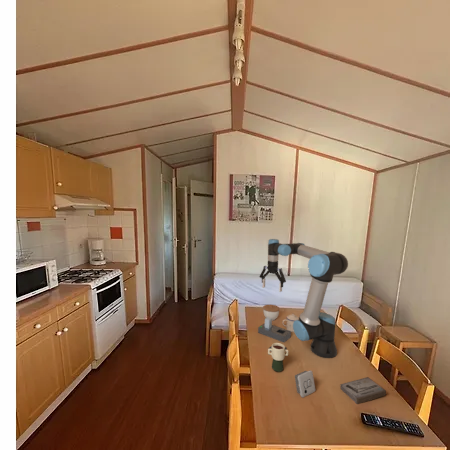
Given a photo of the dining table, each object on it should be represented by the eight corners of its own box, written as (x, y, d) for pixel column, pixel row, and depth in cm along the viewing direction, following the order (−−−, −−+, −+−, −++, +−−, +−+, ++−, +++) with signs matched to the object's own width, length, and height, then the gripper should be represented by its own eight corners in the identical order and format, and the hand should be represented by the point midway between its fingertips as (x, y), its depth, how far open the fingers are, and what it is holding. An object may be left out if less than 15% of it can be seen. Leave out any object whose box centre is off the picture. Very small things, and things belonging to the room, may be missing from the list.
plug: (271, 332, 181) (271, 318, 181) (268, 334, 179) (269, 320, 178) (267, 330, 184) (267, 317, 183) (264, 332, 181) (264, 318, 180)
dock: (286, 349, 159) (286, 347, 159) (280, 355, 153) (280, 352, 153) (274, 345, 164) (274, 343, 164) (268, 350, 158) (268, 348, 158)
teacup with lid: (297, 326, 191) (297, 311, 190) (300, 332, 182) (301, 316, 181) (280, 326, 191) (281, 311, 190) (283, 332, 182) (284, 316, 181)
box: (386, 396, 121) (386, 390, 120) (357, 405, 115) (357, 398, 115) (367, 382, 131) (367, 376, 131) (339, 389, 126) (339, 383, 125)
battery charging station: (290, 336, 176) (291, 330, 175) (284, 342, 168) (284, 335, 168) (265, 327, 188) (265, 321, 188) (258, 332, 181) (258, 326, 180)
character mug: (286, 365, 143) (287, 343, 142) (288, 374, 136) (289, 350, 135) (266, 364, 144) (267, 342, 143) (267, 372, 137) (268, 349, 136)
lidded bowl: (276, 315, 211) (277, 302, 210) (280, 321, 199) (281, 308, 198) (261, 315, 210) (261, 302, 210) (264, 322, 198) (265, 308, 197)
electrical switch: (302, 398, 118) (301, 378, 119) (293, 392, 123) (293, 373, 123) (315, 391, 123) (315, 372, 123) (307, 386, 128) (306, 367, 128)
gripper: (291, 262, 180) (290, 292, 181) (260, 257, 196) (259, 284, 197) (286, 264, 174) (285, 294, 176) (255, 258, 190) (254, 287, 191)
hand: (272, 289), depth 186 cm, fingers open, 13 cm apart
